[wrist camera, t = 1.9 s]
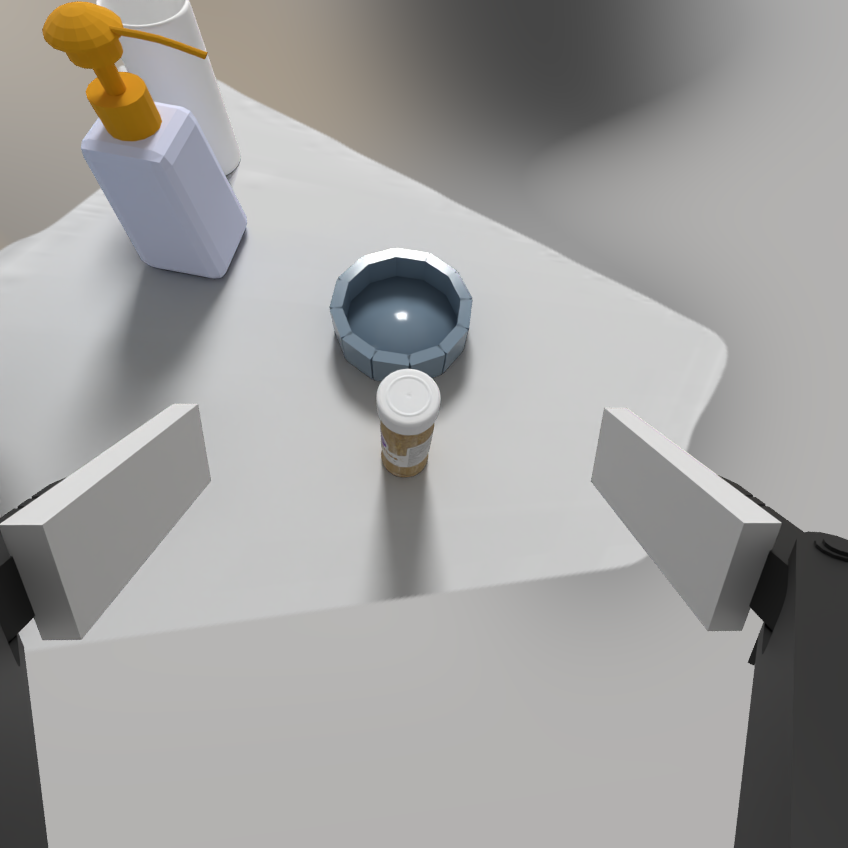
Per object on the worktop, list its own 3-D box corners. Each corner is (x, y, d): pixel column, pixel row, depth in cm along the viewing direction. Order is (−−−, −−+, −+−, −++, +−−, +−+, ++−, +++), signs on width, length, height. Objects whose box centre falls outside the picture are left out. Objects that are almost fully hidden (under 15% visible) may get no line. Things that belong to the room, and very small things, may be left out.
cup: (249, 170, 57) (198, 16, 42) (183, 188, 55) (105, 33, 40) (230, 129, 60) (175, -30, 45) (166, 144, 58) (87, -15, 43)
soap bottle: (264, 292, 50) (172, 72, 30) (142, 270, 50) (-34, 35, 30) (289, 228, 54) (223, -8, 33) (175, 207, 54) (40, -40, 33)
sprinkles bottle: (372, 449, 44) (363, 385, 31) (412, 426, 45) (418, 355, 33) (397, 488, 42) (398, 437, 30) (437, 463, 44) (454, 405, 31)
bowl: (361, 401, 46) (358, 382, 42) (320, 294, 50) (314, 269, 47) (486, 359, 48) (493, 338, 45) (436, 261, 53) (439, 235, 49)
